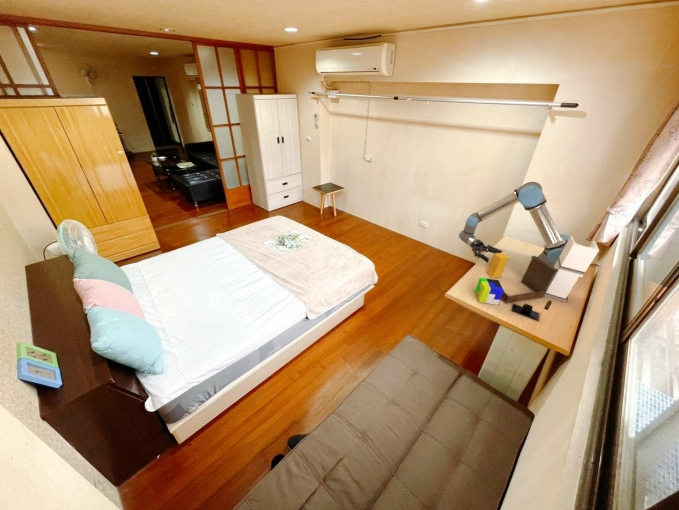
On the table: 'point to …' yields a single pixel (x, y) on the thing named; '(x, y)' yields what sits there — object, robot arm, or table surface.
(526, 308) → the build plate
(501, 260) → the yellow block
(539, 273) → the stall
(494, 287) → the puzzle toy
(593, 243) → the white stepped block
